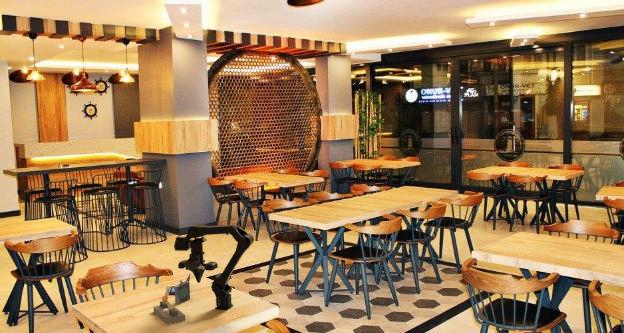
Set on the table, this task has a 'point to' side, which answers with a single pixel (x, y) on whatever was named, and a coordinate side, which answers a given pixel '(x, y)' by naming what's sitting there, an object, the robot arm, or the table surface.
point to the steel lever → (167, 291)
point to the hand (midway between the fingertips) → (198, 282)
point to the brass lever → (167, 303)
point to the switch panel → (168, 313)
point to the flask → (182, 292)
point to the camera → (172, 291)
